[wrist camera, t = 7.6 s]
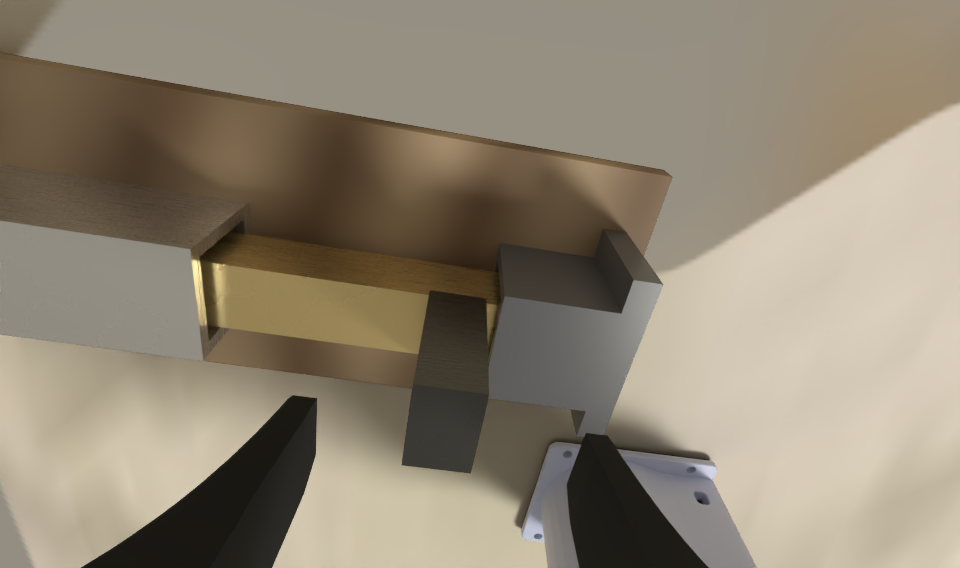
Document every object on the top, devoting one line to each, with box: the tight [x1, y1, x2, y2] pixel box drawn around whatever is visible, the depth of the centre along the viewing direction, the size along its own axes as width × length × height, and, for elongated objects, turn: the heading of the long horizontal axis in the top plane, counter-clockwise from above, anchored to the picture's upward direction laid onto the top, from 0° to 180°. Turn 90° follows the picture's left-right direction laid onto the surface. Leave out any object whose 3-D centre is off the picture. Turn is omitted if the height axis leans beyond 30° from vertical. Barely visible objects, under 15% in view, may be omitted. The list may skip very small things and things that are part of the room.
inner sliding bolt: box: [200, 231, 501, 473], centre depth 17 cm, size 16×3×8 cm, turn 80°
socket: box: [488, 229, 663, 437], centre depth 19 cm, size 5×7×4 cm
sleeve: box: [0, 164, 250, 361], centre depth 18 cm, size 9×4×4 cm, turn 80°
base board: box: [0, 53, 672, 388], centre depth 21 cm, size 26×12×1 cm, turn 80°
